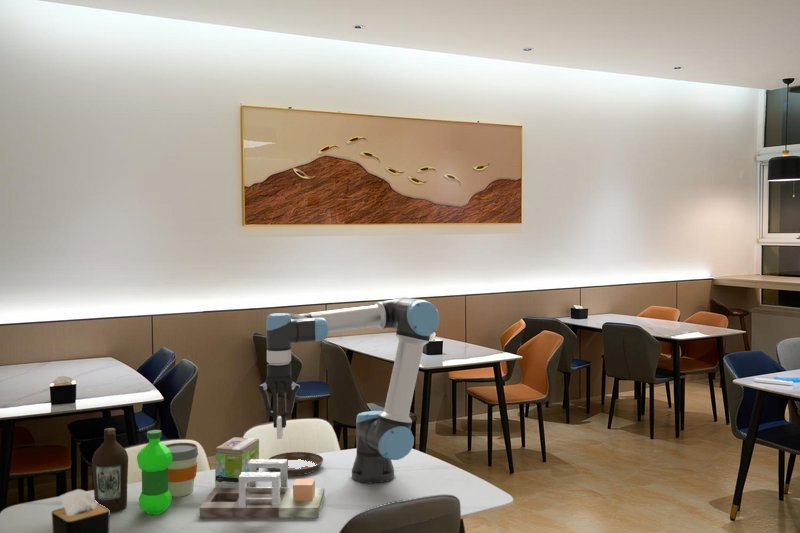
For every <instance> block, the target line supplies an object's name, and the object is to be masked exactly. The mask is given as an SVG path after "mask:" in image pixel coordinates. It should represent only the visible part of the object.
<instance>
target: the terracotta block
mask: <svg viewBox="0 0 800 533" xmlns="http://www.w3.org/2000/svg"><path fill="white" fill-rule="evenodd" d="M315 483H316V479H315V478H296V479H295V480H294V482H293V484H292V488H293V501H313V498H314V495H315V488H316V484H315Z"/></svg>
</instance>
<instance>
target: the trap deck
mask: <svg viewBox="0 0 800 533" xmlns="http://www.w3.org/2000/svg"><path fill="white" fill-rule="evenodd" d="M247 498H272V493H248V487H247ZM280 498H281V504H280V506H279V508H272V504H247V506H246V508H239V488H215V487H214V488H213V489H212V490H211V492H209V494H208V496H207V497H206V498H205V500H204V501H203V502H202V503H201V505H200V506H199V518H202V519H203V518H210V519H211V518H213V519H216V518H222V519H223V518H225V519H226V518H229V519H230V518H237V519H238V518H250V519H251V518H256V519H257V518H259V519H260V518H319V517H320V513H321V510H322V508H323V507H322V506H323V503H324V500H325V487H315V495H314V498H313V501H293V487H288V488H287V490H286V493H280Z"/></svg>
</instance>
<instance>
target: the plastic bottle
mask: <svg viewBox="0 0 800 533" xmlns="http://www.w3.org/2000/svg"><path fill="white" fill-rule="evenodd" d="M146 438H147V440H148V443H147V444H145V446H144V447H142V448H141V449H140V450H139V451H138V454H137V456H136V461H137V466H138V468H139V469H140V470H141V492H140V495H139V497H138V504H139V506H140V508H141V510H142V511H144V512H145V513H146V514H147V515H151V516H155V515H160V514H162V513H163V512H165V511H166V510H167V509H168V508H169V507H170V505H171V504H172V499H173V497H172V496H171V494H170V492H169V490H168V467H169V466H170V465H171V463H172V454H171V451H170V449H169V448H168V447H166V446H165V445H166V444H164V443H162V442H161V438H162V430H161V429H152V430H151V429H150V430H148V431H146Z"/></svg>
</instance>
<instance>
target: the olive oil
mask: <svg viewBox="0 0 800 533" xmlns="http://www.w3.org/2000/svg"><path fill="white" fill-rule="evenodd" d="M103 432H104V433H103V442H102V443H101V445H100V446H99V447H98V448H97V449H96V450H95V451H94V453H93V456H92V459H91V468H92V478H93V482H92V483H93V495H94V496H93V497H94V501H95V500H96V501H97V502H98V503H99V504H101V505H103V506H105V507H106V508H108V509H109V510H110V513H109V514H112V513H118V512H121V511H123V510H125V509H126V508H127V506H128V478H129V477H128V476H129V454H128V451H127V450H126V449H125V448H124V447H123V446H122V445H121V444H120V443H119V442H118V441H117V439H116V435H117V434H116V428H114V427H109V428H105V429H104V431H103ZM120 510H121V511H120ZM117 511H118V512H117Z"/></svg>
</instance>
